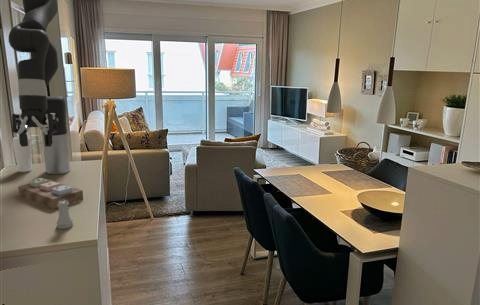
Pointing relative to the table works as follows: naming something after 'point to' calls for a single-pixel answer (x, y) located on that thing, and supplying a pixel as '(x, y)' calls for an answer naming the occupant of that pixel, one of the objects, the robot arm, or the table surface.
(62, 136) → the robot arm
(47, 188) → the one-pip button
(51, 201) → the button panel
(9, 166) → the table surface
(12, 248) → the table surface
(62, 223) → the rook chess piece
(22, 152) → the drinking glass
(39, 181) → the three-pip button
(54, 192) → the two-pip button
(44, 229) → the table surface
